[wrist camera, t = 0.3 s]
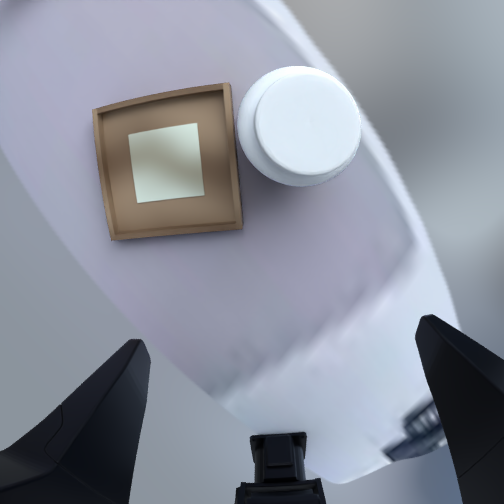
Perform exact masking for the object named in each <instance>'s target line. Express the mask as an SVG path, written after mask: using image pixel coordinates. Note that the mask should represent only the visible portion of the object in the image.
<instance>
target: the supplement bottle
mask: <svg viewBox="0 0 504 504" xmlns="http://www.w3.org/2000/svg"><path fill="white" fill-rule="evenodd" d="M237 131H238V137H239V141H240V144H241V146H242V149H243V151H244V153H245V155H246V156H247V158H248V159H249V161H250V162H251V163H252V164H253V165H254V166H255V168H256V169H258V170H259V171H260V172H261V173H262V174H264V175H265V176H267V177H268V178H270V179H272V180H274V181H276V182H279V183H282V184H285V185H290V186H298V187H306V186H313V185H318V184H321V183H324V182H326V181H329V180H331V179H332V178H334V177H336V176H337V175H338V174H340V173H341V172H342V171H343V170H344V169H345V168H346V167H347V166H348V165H349V163H350V162H351V161H352V159H353V158H354V156H355V154H356V151H357V149H358V146H359V143H360V138H361V118H360V114H359V110H358V108H357V105H356V103H355V101H354V99H353V97H352V96H351V94H350V93H349V92H348V90H347V89H346V88H345V87H344V86H343V85H342V84H341V83H340V82H339V81H338V80H336V79H335V78H334V77H332V76H331V75H329V74H327V73H325V72H323V71H320V70H318V69H314V68H310V67H304V66H290V67H284V68H280V69H277V70H274V71H272V72H269V73H268V74H266V75H264V76H263V77H261V78H260V79H258V80H257V81H256V82H255V83H254V84H253V85H252V86H251V87H250V89H249V90H248V91H247V93H246V94H245V96H244V98H243V100H242V102H241V105H240V108H239V112H238V118H237Z"/></svg>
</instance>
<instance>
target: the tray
mask: <svg viewBox="0 0 504 504" xmlns="http://www.w3.org/2000/svg"><path fill="white" fill-rule="evenodd" d="M92 114H93V126H94V137H95V146H96V154H97V162H98V169H99V176H100V183H101V189H102V195H103V201H104V207H105V212H106V217H107V222H108V227H109V232H110V237H111V241H112V240H122V239H132V238H143V237H154V236H165V235H176V234H188V233H200V232H212V231H225V230H238V229H242V228H243V215H242V204H241V193H240V183H239V172H238V161H237V149H236V138H235V127H234V116H233V104H232V93H231V85H230V83H221V84H213V85H205V86H198V87H192V88H185V89H179V90H174V91H168V92H163V93H158V94H153V95H148V96H143V97H139V98H135V99H130V100H126V101H122V102H118V103H114V104H111V105H107V106H103V107H100V108H96V109H93V110H92Z"/></svg>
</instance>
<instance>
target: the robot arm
mask: <svg viewBox="0 0 504 504" xmlns="http://www.w3.org/2000/svg"><path fill="white" fill-rule="evenodd" d="M415 340H416V344H417V348H418V351H419V355H420V358H421V362H422V366H423V370H424V373H425V377H426V380H427V383H428V385H429V388H430V391H431V394H432V396H433V399H434V402H435V405H436V408H437V411H438V414H439V417H440V420H441V423H442V426H443V429H444V432H445V436H446V439H447V442H448V446H449V449H450V453H451V456H452V459H453V463H454V467H455V471H456V475H457V478H458V479H457V480H458V484H459V488H460V492H461V497H462V502H463V504H504V360H503V359H502V358H500V357H498V356H497V355H496V354H494V353H493V352H491V351H489V350H488V349H487V348H485V347H484V346H482V345H480V344H479V343H477V342H476V341H474V340H473V339H471V338H470V337H468V336H467V335H465V334H463V333H462V332H460V331H459V330H457V329H456V328H454V327H452V326H451V325H449V324H448V323H446V322H445V321H443V320H441V319H440V318H438V317H437V316H435V315H433V314H430V315H424V316H422V317H421V319H420V322H419V325H418V328H417V331H416V334H415ZM150 364H151V360H150V356H149V353H148V351H147V349H146V346H145V344H144V342H143V341H142V340H141V339H130V340H128V341H127V342H126V343H125V344H124V345H123V346H122V347H121V348H120V349H119V350H118V351H116V352H115V353H114V354H113V355H112V356H111V357H110V358H109V359H108V360H107V361H106V362H105V363H104V364H103V365H102V366H100V367H99V368H98V369H97V370H96V371H95V372H94V373H93V374H92V375H91V376H90V377H89V378H87V379H86V380H85V381H84V382H83V383H82V384H81V385H80V386H79V387H78V388H77V389H76V390H75V391H74V392H73V393H72V394H71V395H70V396H68V397H67V398H66V399H65V400H64V401H63V402H62V403H61V405H59V406H58V407H57V408H56V409H55V410H54V411H53V412H51V413H50V414H49V415H48V416H47V417H46V418H45V419H44V420H43V421H41V422H40V423H39V424H38V425H36V426H35V427H34V428H33V429H32V430H30V431H29V432H28V433H26V434H25V435H24V436H23V437H21V438H20V439H19V440H17V441H16V442H15V443H14V444H12V445H11V446H10V447H8V448H6V449H5V450H2V451H0V504H129V497H130V490H131V484H132V478H133V471H134V465H135V460H136V454H137V449H138V443H139V438H140V432H141V428H142V423H143V418H144V413H145V408H146V402H147V393H148V382H149V373H150ZM306 440H307V435H306V433H305V432H299V433H288V434H273V435H253V436H251V437H250V445H251V450H252V456H253V461H254V463H255V483H246V482H241V486H240V487H238V488H236V498H235V504H326V500H325V496H324V492H323V488H322V483H321V479H320V478H316V479H313V480H306V478H305V468H304V459H305V451H306Z"/></svg>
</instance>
